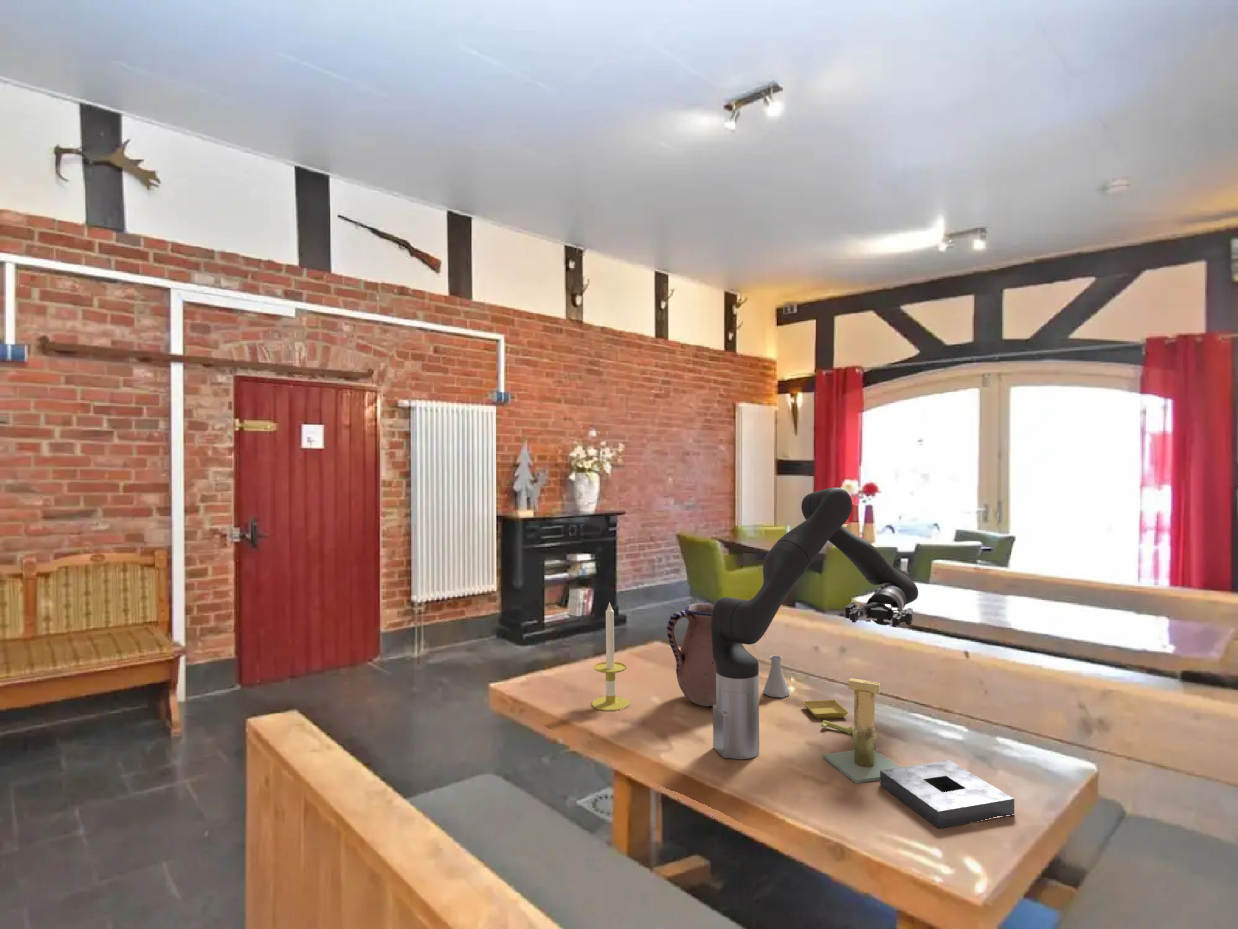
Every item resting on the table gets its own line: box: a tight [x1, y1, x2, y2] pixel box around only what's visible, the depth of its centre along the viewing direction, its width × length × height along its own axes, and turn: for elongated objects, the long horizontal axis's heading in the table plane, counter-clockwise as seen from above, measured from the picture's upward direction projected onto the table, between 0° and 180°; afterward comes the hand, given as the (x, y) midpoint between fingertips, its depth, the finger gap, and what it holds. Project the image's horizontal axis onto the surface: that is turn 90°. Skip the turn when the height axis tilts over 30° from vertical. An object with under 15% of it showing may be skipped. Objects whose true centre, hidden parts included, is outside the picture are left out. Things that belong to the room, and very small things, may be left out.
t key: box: [847, 677, 881, 767], centre depth 140 cm, size 6×4×17 cm, turn 60°
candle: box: [591, 601, 631, 712], centre depth 177 cm, size 10×10×27 cm
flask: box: [762, 655, 790, 699], centre depth 184 cm, size 7×7×10 cm
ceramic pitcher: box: [666, 601, 716, 707], centre depth 177 cm, size 18×21×25 cm
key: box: [820, 719, 878, 741], centre depth 156 cm, size 7×12×2 cm, turn 72°
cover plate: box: [879, 759, 1015, 830], centre depth 127 cm, size 16×16×3 cm
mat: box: [822, 749, 900, 784], centre depth 141 cm, size 12×12×1 cm
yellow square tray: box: [802, 699, 849, 720], centre depth 170 cm, size 9×9×2 cm
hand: (873, 620), depth 150 cm, fingers open, 8 cm apart
